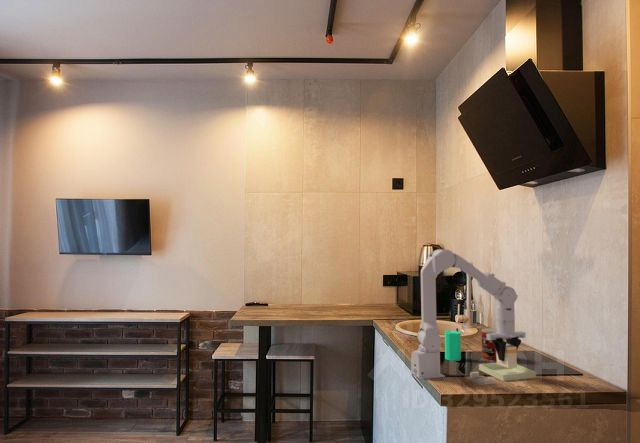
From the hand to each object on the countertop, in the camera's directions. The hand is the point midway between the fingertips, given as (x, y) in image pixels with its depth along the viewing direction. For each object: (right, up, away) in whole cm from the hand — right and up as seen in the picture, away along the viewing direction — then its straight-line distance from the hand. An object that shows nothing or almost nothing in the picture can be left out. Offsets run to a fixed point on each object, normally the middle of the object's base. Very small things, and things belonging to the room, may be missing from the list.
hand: (506, 359), depth 155 cm
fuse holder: (-12, -5, -8) cm, 15 cm away
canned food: (+4, -6, +23) cm, 24 cm away
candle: (-12, -6, +21) cm, 25 cm away
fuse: (0, -2, 0) cm, 2 cm away
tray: (0, -5, 0) cm, 5 cm away
